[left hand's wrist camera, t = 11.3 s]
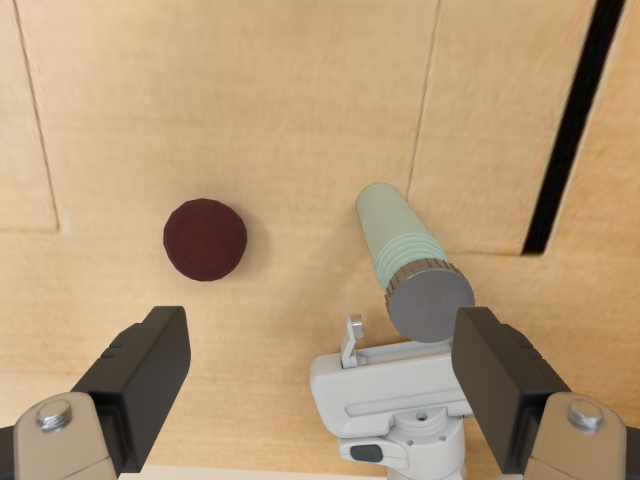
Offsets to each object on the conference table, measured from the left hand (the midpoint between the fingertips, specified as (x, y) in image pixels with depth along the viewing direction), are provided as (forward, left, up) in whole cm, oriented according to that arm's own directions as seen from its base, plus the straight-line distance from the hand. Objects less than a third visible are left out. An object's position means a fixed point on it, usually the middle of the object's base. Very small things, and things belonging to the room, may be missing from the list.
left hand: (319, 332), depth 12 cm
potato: (+12, +3, -28) cm, 31 cm away
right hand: (-4, +14, -22) cm, 26 cm away
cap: (-4, +5, -8) cm, 11 cm away
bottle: (-4, +5, -28) cm, 29 cm away
